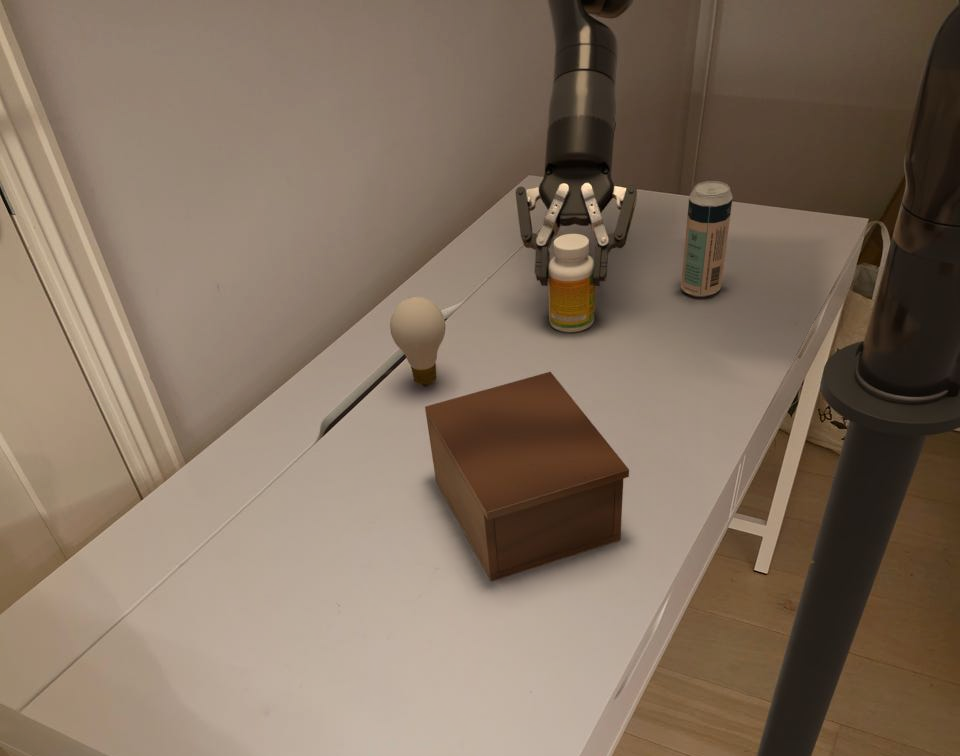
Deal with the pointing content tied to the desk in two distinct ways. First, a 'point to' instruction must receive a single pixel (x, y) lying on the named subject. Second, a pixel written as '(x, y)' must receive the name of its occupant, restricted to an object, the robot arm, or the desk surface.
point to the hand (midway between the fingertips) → (570, 283)
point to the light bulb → (419, 335)
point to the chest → (529, 521)
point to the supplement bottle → (571, 284)
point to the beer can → (706, 238)
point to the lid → (524, 444)
